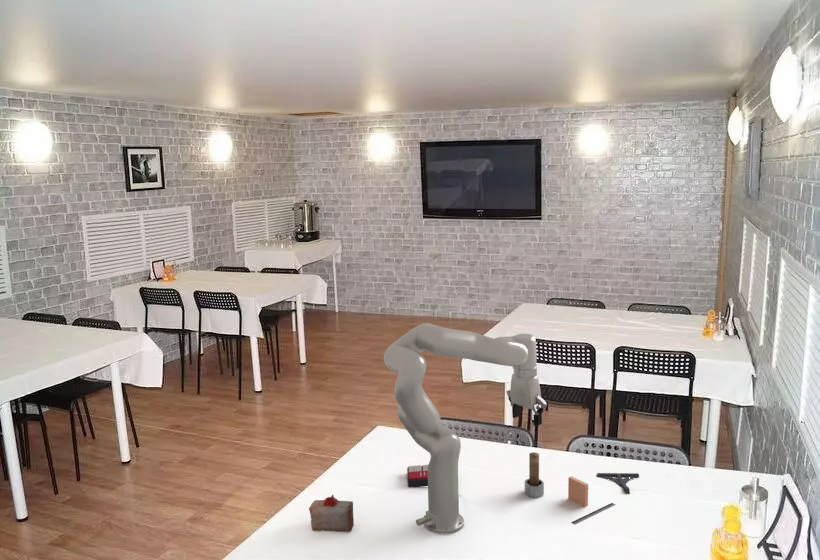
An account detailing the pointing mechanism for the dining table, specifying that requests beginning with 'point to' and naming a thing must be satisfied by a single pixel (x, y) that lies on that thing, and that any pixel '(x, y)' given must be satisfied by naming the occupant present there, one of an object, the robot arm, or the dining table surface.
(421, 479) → the calculator
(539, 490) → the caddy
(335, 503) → the food item
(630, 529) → the dining table surface
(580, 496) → the tile
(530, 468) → the rod
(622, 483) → the bracket
